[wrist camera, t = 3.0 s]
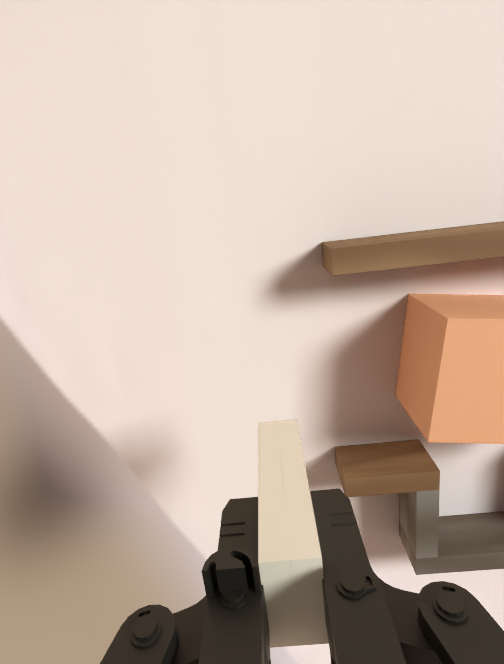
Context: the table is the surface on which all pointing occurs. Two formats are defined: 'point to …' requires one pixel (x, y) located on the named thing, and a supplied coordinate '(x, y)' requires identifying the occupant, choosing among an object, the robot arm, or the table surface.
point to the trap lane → (410, 456)
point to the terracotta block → (454, 367)
